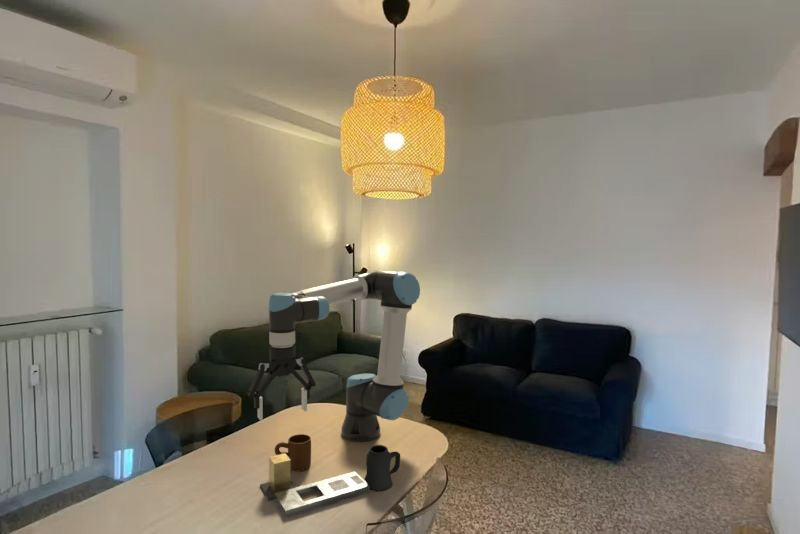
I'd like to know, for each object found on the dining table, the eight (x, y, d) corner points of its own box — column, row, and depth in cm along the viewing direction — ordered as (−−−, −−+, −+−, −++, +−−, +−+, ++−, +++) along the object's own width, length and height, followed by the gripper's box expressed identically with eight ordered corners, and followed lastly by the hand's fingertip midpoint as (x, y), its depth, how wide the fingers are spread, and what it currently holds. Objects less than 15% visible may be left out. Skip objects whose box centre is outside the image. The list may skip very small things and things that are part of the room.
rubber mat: (288, 478, 147) (288, 476, 147) (298, 492, 140) (298, 490, 140) (260, 486, 143) (260, 484, 143) (268, 500, 135) (268, 498, 135)
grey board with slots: (354, 477, 149) (355, 471, 149) (369, 492, 141) (369, 485, 141) (274, 500, 135) (274, 493, 135) (285, 517, 127) (285, 510, 127)
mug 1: (276, 476, 149) (276, 447, 148) (272, 465, 156) (272, 438, 155) (313, 469, 154) (313, 441, 153) (307, 459, 161) (307, 432, 160)
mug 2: (371, 494, 139) (372, 458, 139) (358, 480, 147) (359, 446, 147) (405, 484, 146) (406, 449, 145) (391, 471, 153) (392, 438, 153)
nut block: (285, 481, 145) (285, 453, 144) (290, 488, 140) (290, 459, 140) (269, 485, 142) (269, 456, 141) (273, 493, 138) (274, 463, 137)
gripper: (316, 337, 149) (316, 402, 151) (236, 347, 136) (237, 417, 137) (326, 342, 143) (326, 410, 144) (242, 352, 129) (243, 427, 131)
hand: (282, 414), depth 141 cm, fingers open, 13 cm apart
